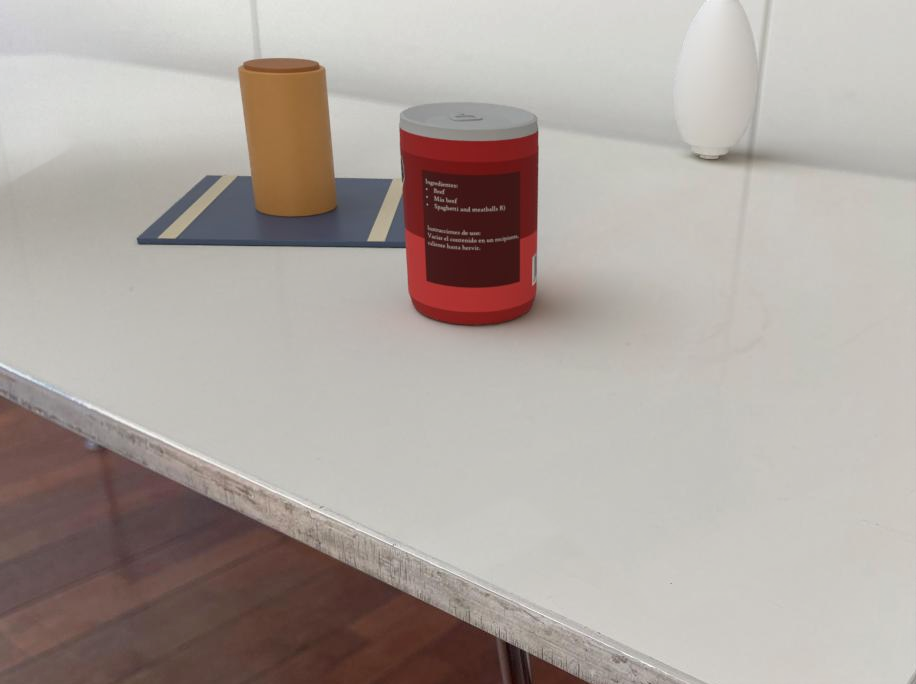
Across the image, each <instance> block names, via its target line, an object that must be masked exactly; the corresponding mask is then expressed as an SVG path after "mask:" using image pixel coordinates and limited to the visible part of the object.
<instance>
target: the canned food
mask: <svg viewBox="0 0 916 684" xmlns="http://www.w3.org/2000/svg"><path fill="white" fill-rule="evenodd" d="M398 128H399V129H398V130H399V132H398V133H399V154H400V155H399V157H400V170H401V171H400V172H401V173H400V175H401V178H402V191H403V208H404V225H405V242H406V247H405V257H406V273H407V290H408V295H409V297H410V301H411V303H412V305H413V307H414V308H415V310H417V311H418V312H419V313H420V314H422V315H424V316H426V317H427V318H430V319H432V320H436V321H439V322H443V323H448V324H455V325H466V326H481V325H483V326H485V325H494V324H500V323H505V322H509V321H513V320H516V319H517V318H520V317H522V316H524V315H525V314H526V313H527V312H529V311H530V310H531V309H532V307H533V305H534V302H535V298H536V295H537V290H538V289H537V288H538V287H537V285H538V284H537V283H538V281H537V280H538V220H539V219H538V212H539V154H540V153H539V147H540V146H539V125H538V116H537V115H536V114H535V113H533V112H531V111H529V110H526V109H524V108H520V107H516V106H512V105H505V104H497V103H487V102H470V101H467V102H464V101H453V102H452V101H451V102H450V101H449V102H433V103H424V104H418V105H413V106H411V107H408V108H405V109H404V110H402V111H401V112H400V113H399V122H398Z"/></svg>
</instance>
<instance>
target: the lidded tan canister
mask: <svg viewBox="0 0 916 684" xmlns="http://www.w3.org/2000/svg"><path fill="white" fill-rule="evenodd" d="M237 72H238V73H237V74H238V79H239V90H240V98H241V103H242V104H241V105H242V111H243V120H244V128H245V136H246V137H245V138H246V145H247V153H248V160H249V168H250V176H251V177H252V185H253V193H254V201H255V208H256V209H257V210H258V211H259V212H261V213H264V214H268V215H273V216H282V217H302V216H312V215H318V214H323V213H326V212H329V211H331V210H333V209H335V208H336V207H337V197H336V185H335V178H336V175H335V164H334V151H333V140H332V139H333V138H332V129H331V117H330V107H329V94H328V83H327V72H326V67H325V66H323V65H320V63H319V62H318V61H315V60H312V59H306V58H294V57H267V58H266V57H265V58H256V59H250V60H246V61H243V64H242V65H240V66H238V67H237Z"/></svg>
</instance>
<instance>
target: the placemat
mask: <svg viewBox="0 0 916 684" xmlns="http://www.w3.org/2000/svg"><path fill="white" fill-rule="evenodd" d="M335 185H336V197H337V207H336V208H335V209H333V210H331V211H329V212H326V213H323V214H318V215H312V216H302V217H282V216H273V215H268V214H264V213H261V212H259V211H258V210H257V209H256V208H255V201H254V193H253V185H252V177H251V175H239V174H238V175H237V174H223V175H221V174H220V175H218V174H217V175H214V174H213V175H211V174H206V175H205V176H204V177H203V178H202V179H200V181H198V183H196V184H195V185H194V186H193V187H192V188H191V189H190V190H189V191H187V192H186V193H185V194H184V195H183V196H182V197H180V199H179V200H177V201H176V202H175V203H174V204H173V205H171V207H170V208H168V209H167V210H166V211H165V212H164V213H163V214H162V215H161V216H159V218H157V219H156V220H155V221H154V222H153V223H152V224H150V225H149V226H148V227H147V228H146V229H145V230H144V231H143V232H142V233H140V234H139V235H138V237H136V243H137V244H138V245H139V244H141V245H143V244H144V245H145V244H146V245H207V246H208V245H212V246H213V245H215V246H219V245H220V246H279V247H280V246H281V247H282V246H285V247H286V246H289V247H294V246H295V247H356V248H357V247H358V248H359V247H360V248H361V247H363V248H365V247H366V248H406V242H405V225H404V208H403V191H402V177H401V178H396V177H393V178H374V177H373V178H366V177H365V178H364V177H335Z"/></svg>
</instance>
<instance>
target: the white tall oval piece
mask: <svg viewBox="0 0 916 684" xmlns="http://www.w3.org/2000/svg"><path fill="white" fill-rule="evenodd" d="M676 62H677V63H676V66H675V72H674V78H673V86H672V87H673V89H672V90H673V91H672V104H673V113H674V118H675V124H676V126H677V127H676V128H677V130H678V132H679V135H680V137H681V139H682V141H683V142H684V144H685V143H686V144H687V145H690V146H691V147H690V148H691V149H690V150H691V152H692V153H694V154H698V155H699V158H701V159H704V160H705V159H706V160H716V159H719V158H720V157H719V156H724V155H727V154H728V153H729V149H730V148H732V147H736V146H737V145H739V143H740V142H741V140H742V139H743V138H744V135H745V133H746V132H747V130H748V128H749V127H750V123H751V121H752V118H753V115H754V112H755V107H756V103H757V97H758V86H759V66H758V56H757V47H756V43H755V38H754V34H753V31H752V27H751V24H750V21H749V17H748V15H747V13H746V11H745V9H744V6H743V5H742V4H741V2H740V1H739V0H705V1H704V2H703V4H702V5H701V6H700V8H699V9H698V11H697V12H696V14H695V16H694V17H693V20H692V21H691V23H690V25H689V27H688V29H687V32H686V34H685V37H684V39H683V42H682V45H681V47H680V51H679V54H678V57H677V61H676Z"/></svg>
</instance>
